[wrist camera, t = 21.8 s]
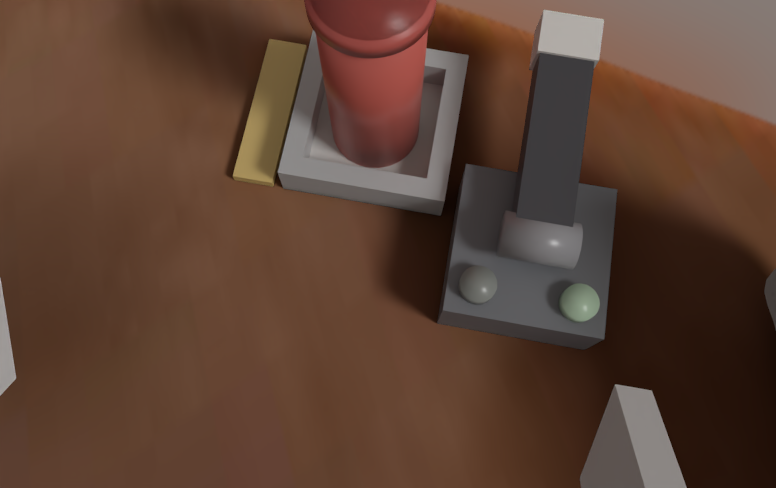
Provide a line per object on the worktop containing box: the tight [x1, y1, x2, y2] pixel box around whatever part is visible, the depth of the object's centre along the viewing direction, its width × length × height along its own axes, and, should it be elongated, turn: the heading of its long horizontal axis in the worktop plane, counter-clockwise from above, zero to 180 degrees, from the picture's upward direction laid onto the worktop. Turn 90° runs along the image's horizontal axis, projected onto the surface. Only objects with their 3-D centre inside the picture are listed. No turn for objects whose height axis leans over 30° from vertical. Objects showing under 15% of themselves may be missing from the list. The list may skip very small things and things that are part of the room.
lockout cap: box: [304, 0, 436, 168], centre depth 30 cm, size 5×5×11 cm
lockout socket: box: [233, 30, 469, 216], centre depth 35 cm, size 10×8×2 cm
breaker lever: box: [497, 10, 604, 269], centre depth 30 cm, size 3×2×11 cm
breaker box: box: [437, 164, 617, 350], centre depth 32 cm, size 7×7×4 cm
